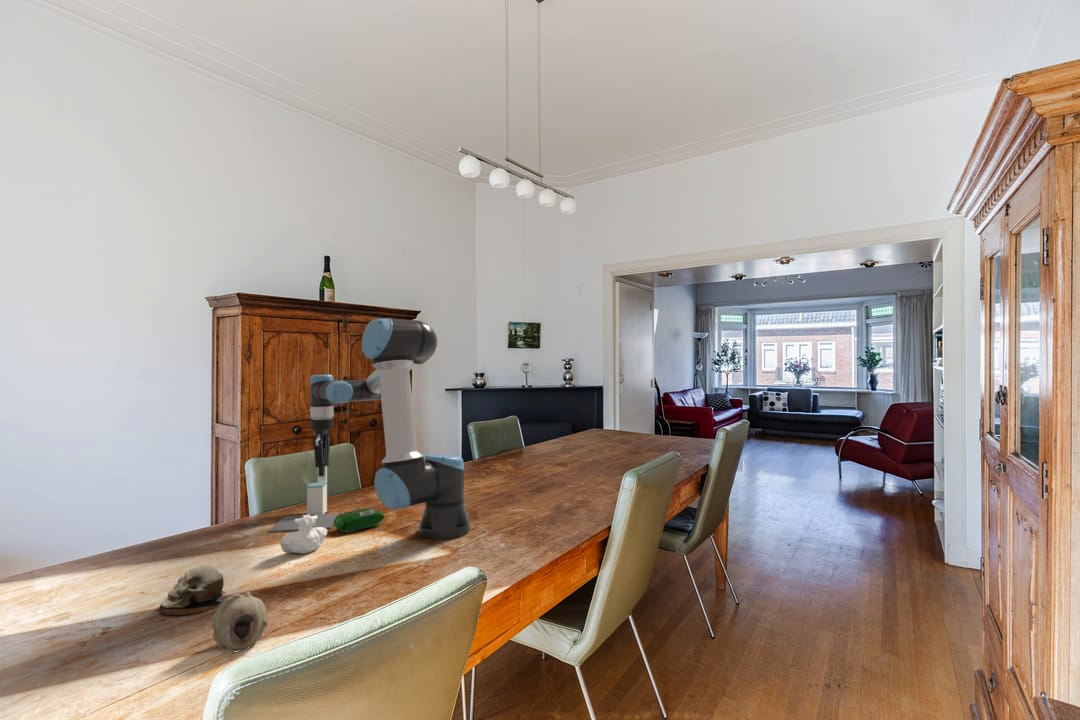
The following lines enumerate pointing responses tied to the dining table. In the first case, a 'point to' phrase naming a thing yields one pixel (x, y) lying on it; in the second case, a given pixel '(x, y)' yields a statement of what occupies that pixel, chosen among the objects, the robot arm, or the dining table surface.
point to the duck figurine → (304, 536)
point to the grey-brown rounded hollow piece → (239, 622)
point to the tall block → (317, 498)
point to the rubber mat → (291, 525)
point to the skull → (194, 592)
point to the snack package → (358, 520)
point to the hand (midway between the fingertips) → (322, 484)
